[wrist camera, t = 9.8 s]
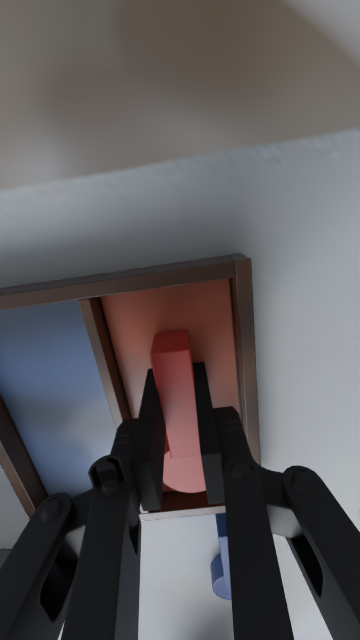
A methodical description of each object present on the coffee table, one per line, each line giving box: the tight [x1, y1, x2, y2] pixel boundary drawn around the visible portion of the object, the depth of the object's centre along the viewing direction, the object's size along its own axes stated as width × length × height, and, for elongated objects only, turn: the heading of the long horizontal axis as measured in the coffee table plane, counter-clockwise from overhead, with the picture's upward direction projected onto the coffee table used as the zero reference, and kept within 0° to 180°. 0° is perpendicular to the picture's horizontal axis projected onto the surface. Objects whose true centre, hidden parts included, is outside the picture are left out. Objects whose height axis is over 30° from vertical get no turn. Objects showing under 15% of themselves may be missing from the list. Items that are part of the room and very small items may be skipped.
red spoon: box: [150, 330, 206, 493], centre depth 16 cm, size 11×4×3 cm, turn 8°
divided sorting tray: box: [0, 253, 261, 521], centre depth 17 cm, size 18×17×2 cm
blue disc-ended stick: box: [211, 513, 232, 600], centre depth 23 cm, size 11×4×3 cm, turn 8°
